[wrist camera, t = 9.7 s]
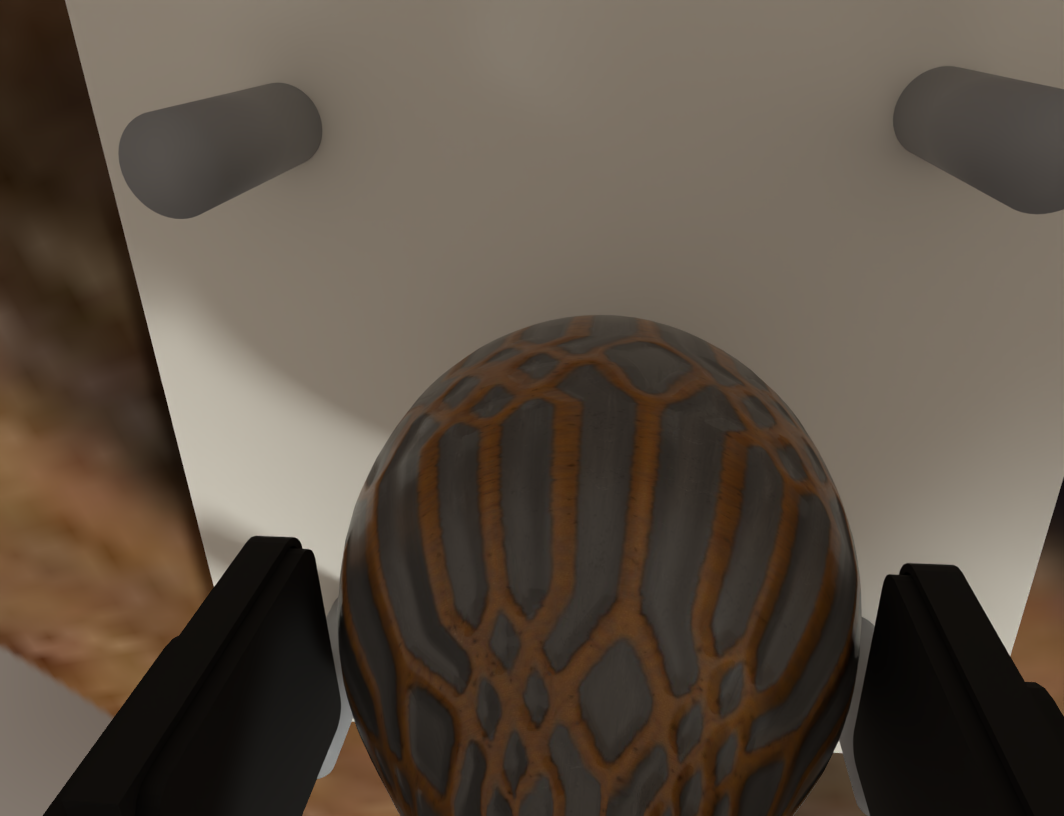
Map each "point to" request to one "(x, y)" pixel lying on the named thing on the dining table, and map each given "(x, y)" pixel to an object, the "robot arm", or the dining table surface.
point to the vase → (599, 585)
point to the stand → (603, 239)
